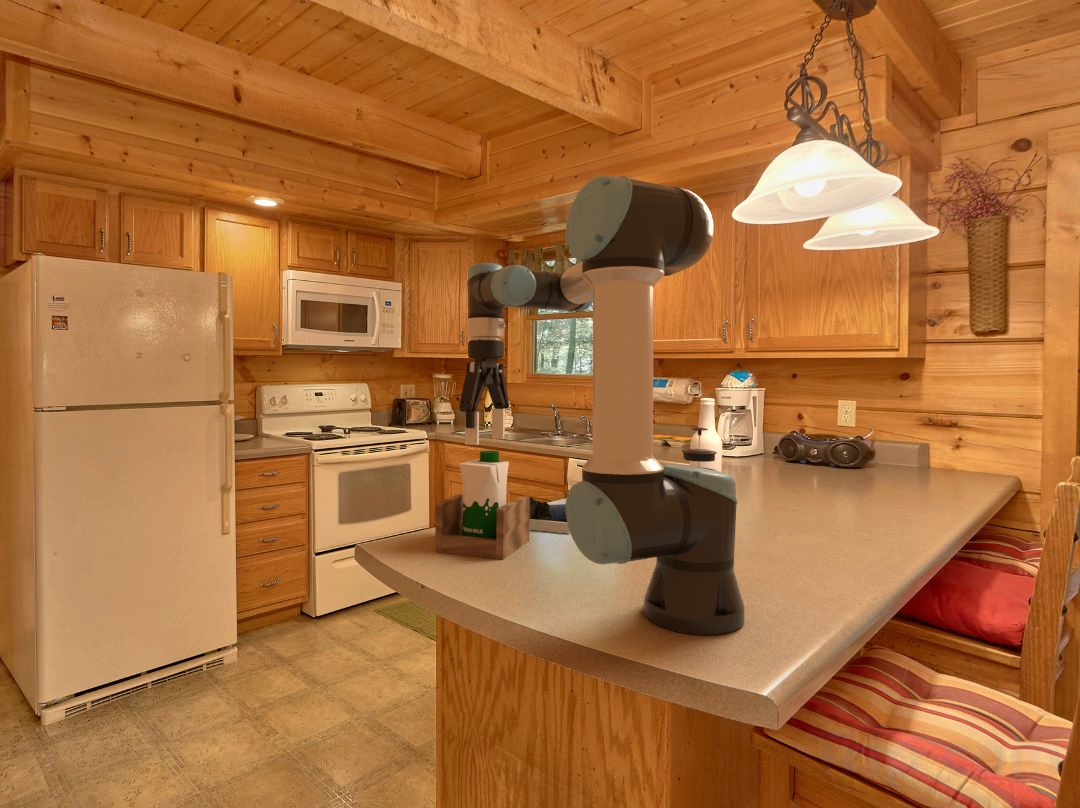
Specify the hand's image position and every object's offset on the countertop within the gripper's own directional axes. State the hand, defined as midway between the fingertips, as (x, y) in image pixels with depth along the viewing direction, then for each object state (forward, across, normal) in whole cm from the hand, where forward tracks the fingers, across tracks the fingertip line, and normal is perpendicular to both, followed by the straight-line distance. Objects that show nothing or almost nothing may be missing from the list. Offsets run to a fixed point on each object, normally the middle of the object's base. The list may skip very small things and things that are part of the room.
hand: (485, 441), depth 138 cm
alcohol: (+22, +64, -39) cm, 78 cm away
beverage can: (+22, +25, -8) cm, 34 cm away
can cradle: (+22, +24, -7) cm, 34 cm away
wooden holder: (+22, 0, +1) cm, 22 cm away
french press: (+22, +48, -39) cm, 66 cm away
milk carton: (+22, 0, 0) cm, 23 cm away
